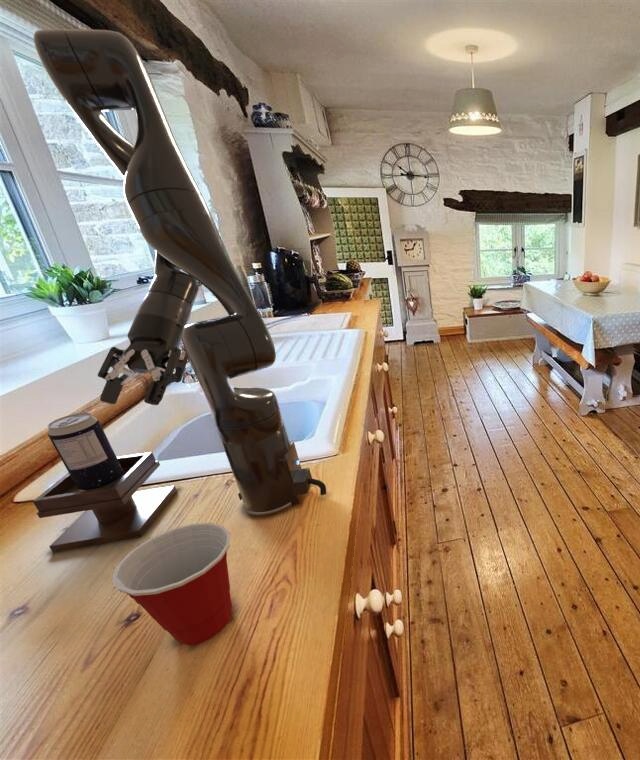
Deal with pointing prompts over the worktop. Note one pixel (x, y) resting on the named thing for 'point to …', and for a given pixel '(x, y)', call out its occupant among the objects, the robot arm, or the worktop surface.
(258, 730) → the worktop surface
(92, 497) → the cup stand
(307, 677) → the worktop surface
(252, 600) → the worktop surface
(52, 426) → the beverage can
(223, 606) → the plastic cup
